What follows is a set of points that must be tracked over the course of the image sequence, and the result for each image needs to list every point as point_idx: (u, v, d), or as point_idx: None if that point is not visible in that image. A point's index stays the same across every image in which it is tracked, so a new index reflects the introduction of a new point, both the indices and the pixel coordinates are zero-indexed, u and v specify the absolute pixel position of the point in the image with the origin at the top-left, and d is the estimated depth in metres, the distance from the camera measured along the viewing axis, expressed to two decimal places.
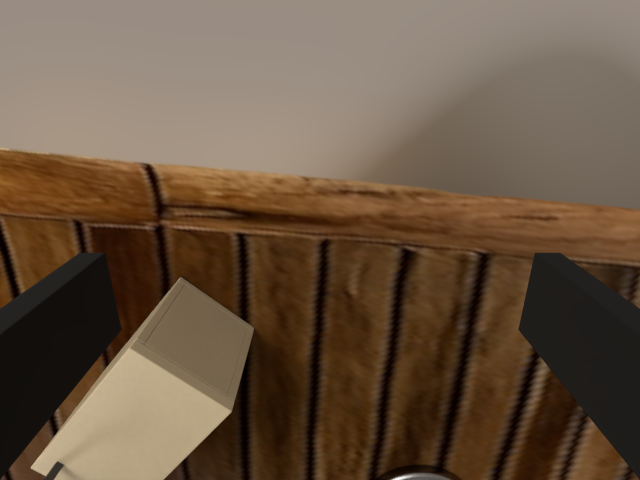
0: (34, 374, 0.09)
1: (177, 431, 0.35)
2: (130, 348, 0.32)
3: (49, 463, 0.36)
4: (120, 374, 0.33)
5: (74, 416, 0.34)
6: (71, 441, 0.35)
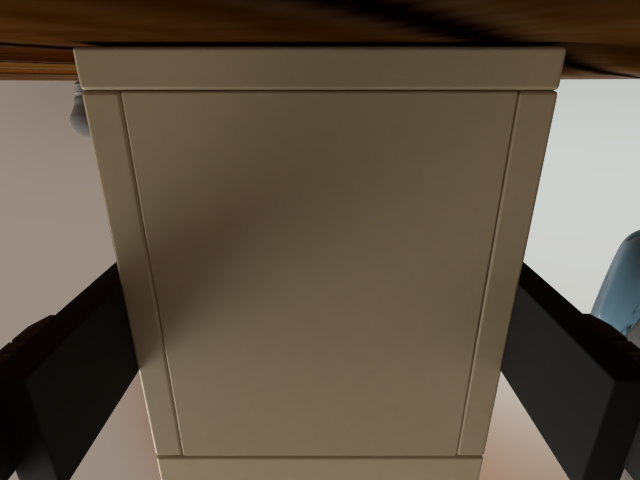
0: (118, 347, 0.10)
1: None
2: None
3: None
4: None
5: None
6: None
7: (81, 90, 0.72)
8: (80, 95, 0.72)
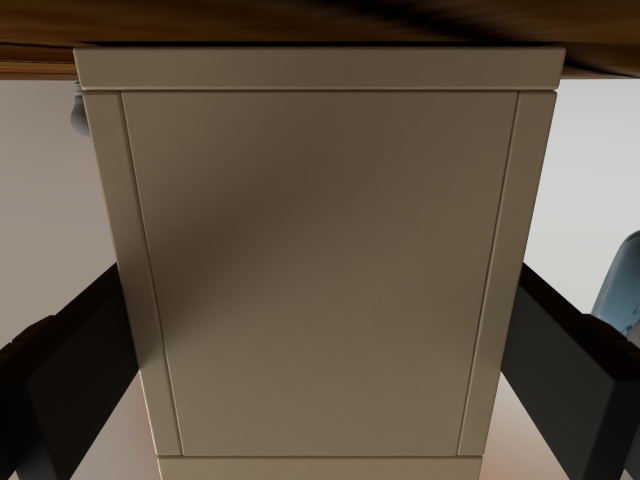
0: (118, 347, 0.10)
1: None
2: None
3: None
4: None
5: None
6: None
7: (81, 90, 0.72)
8: (80, 95, 0.72)
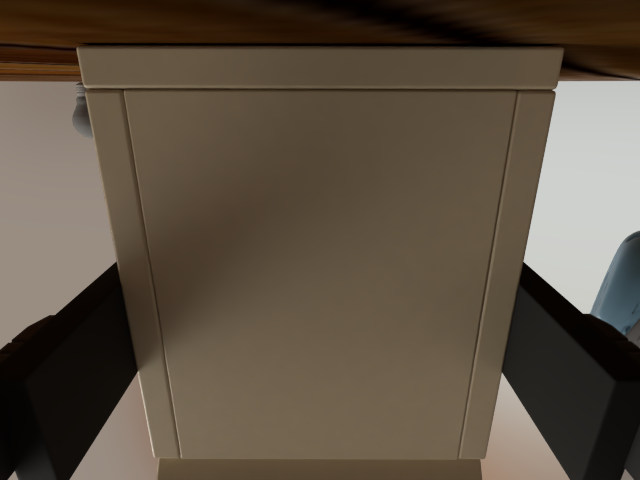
0: (117, 347, 0.10)
1: None
2: None
3: None
4: None
5: None
6: None
7: (83, 91, 0.73)
8: (82, 96, 0.73)
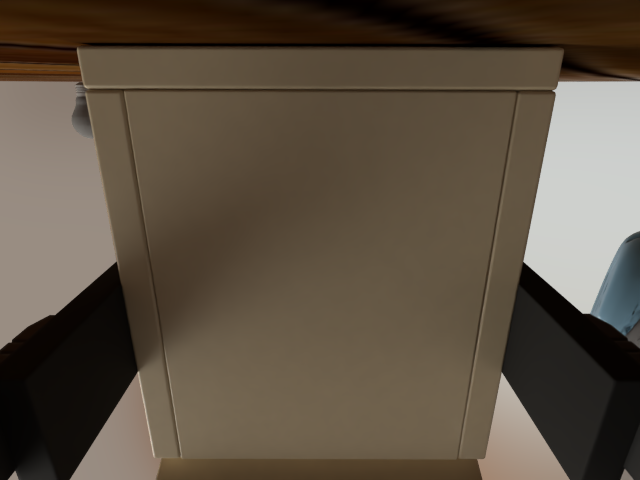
0: (118, 347, 0.10)
1: None
2: None
3: None
4: None
5: None
6: None
7: (82, 91, 0.73)
8: (81, 96, 0.73)
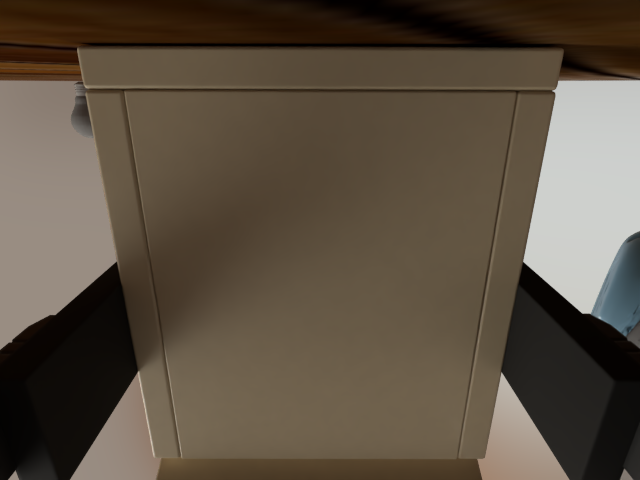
0: (118, 347, 0.10)
1: None
2: None
3: None
4: None
5: None
6: None
7: (82, 90, 0.72)
8: (81, 95, 0.73)
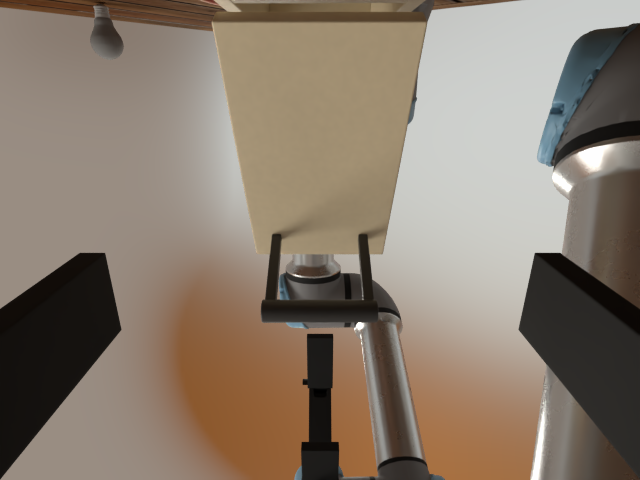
0: (34, 374, 0.09)
1: (368, 115, 0.22)
2: (213, 21, 0.19)
3: (268, 240, 0.31)
4: (237, 77, 0.21)
5: (242, 174, 0.26)
6: (265, 205, 0.28)
7: (100, 12, 0.79)
8: (100, 17, 0.79)
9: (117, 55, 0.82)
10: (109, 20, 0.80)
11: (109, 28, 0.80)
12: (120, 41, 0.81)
